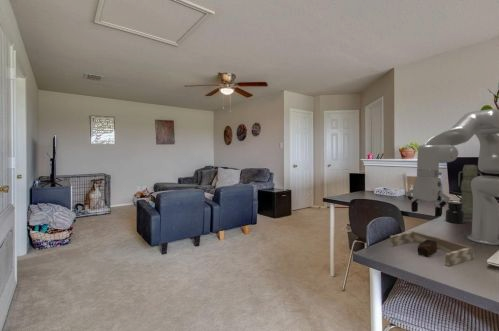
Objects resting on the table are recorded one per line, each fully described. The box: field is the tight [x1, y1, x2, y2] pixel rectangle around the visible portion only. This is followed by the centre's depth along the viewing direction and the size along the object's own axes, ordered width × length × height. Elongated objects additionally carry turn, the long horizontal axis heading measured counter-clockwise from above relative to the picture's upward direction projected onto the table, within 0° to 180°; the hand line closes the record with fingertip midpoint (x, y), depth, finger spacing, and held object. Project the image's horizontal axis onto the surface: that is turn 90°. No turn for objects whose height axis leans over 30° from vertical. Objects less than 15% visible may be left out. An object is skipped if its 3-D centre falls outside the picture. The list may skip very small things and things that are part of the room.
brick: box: [417, 240, 438, 258], centre depth 111 cm, size 11×4×5 cm, turn 127°
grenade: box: [457, 164, 483, 220], centre depth 171 cm, size 9×12×35 cm
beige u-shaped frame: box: [389, 231, 474, 267], centre depth 112 cm, size 17×24×4 cm
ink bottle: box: [445, 201, 465, 224], centre depth 160 cm, size 10×9×12 cm
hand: (425, 214), depth 110 cm, fingers open, 9 cm apart
